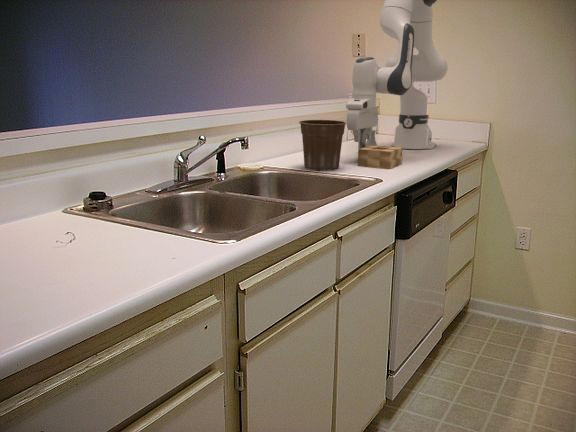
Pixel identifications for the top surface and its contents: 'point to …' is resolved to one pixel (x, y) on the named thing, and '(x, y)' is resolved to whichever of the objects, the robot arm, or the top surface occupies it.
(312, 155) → the plant pot
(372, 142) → the flask
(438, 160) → the top surface
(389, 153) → the bead block
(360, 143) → the rod
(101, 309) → the top surface
